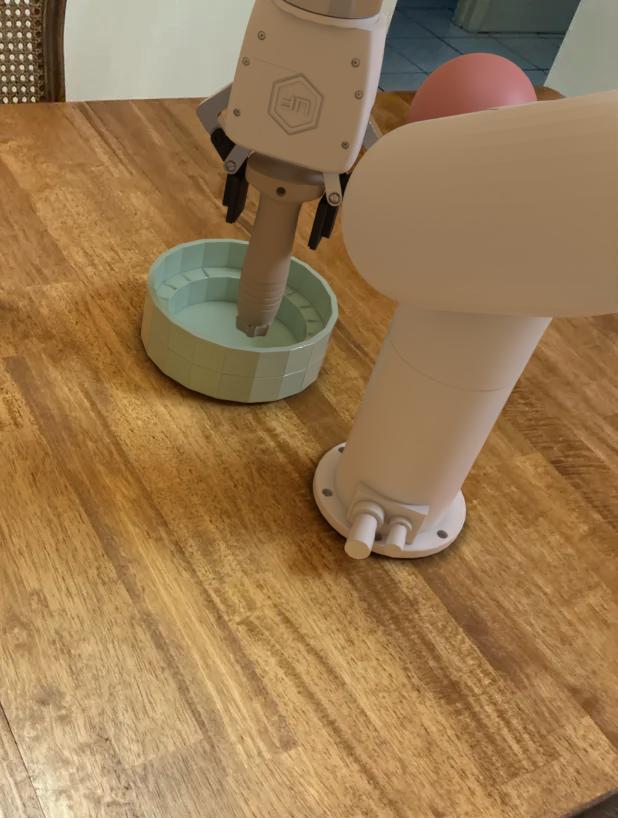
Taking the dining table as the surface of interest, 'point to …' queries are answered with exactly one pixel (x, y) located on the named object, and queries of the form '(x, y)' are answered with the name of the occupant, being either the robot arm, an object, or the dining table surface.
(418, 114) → the balloon
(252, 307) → the handle
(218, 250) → the bowl
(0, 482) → the dining table surface
